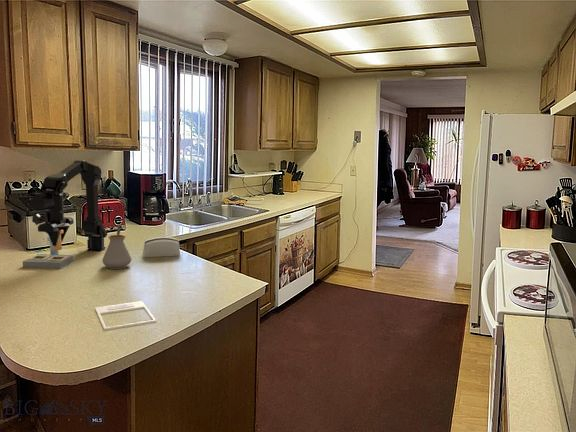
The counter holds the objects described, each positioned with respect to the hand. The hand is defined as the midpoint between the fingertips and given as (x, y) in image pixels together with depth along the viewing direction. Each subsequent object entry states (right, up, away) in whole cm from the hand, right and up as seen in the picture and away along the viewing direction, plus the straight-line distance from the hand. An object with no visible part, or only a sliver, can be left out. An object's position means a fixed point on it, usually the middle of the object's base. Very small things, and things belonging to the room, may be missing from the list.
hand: (57, 244), depth 193 cm
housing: (-4, -8, +1) cm, 9 cm away
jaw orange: (0, -2, 0) cm, 2 cm away
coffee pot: (+23, -9, +7) cm, 25 cm away
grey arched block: (+37, -7, +22) cm, 44 cm away
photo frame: (+45, -19, -49) cm, 70 cm away
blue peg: (-9, -6, +16) cm, 19 cm away
